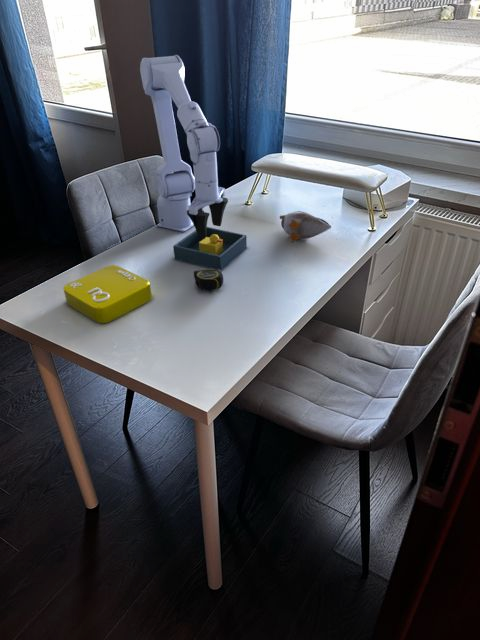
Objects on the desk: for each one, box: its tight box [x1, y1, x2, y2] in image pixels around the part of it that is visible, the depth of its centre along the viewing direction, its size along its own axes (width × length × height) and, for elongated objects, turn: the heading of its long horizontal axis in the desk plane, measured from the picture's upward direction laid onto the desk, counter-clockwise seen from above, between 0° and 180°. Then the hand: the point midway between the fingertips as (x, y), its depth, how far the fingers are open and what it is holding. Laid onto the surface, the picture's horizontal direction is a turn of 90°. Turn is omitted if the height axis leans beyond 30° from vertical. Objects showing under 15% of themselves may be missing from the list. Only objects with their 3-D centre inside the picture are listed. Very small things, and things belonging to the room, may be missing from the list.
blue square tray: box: [172, 226, 248, 271], centre depth 135 cm, size 14×14×4 cm
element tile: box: [62, 264, 153, 324], centre depth 116 cm, size 15×15×5 cm
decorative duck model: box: [279, 210, 332, 243], centre depth 143 cm, size 15×8×15 cm
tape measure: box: [193, 268, 224, 292], centre depth 121 cm, size 7×7×4 cm
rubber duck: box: [199, 234, 223, 255], centre depth 134 cm, size 6×4×5 cm, turn 64°
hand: (209, 230), depth 132 cm, fingers open, 7 cm apart
